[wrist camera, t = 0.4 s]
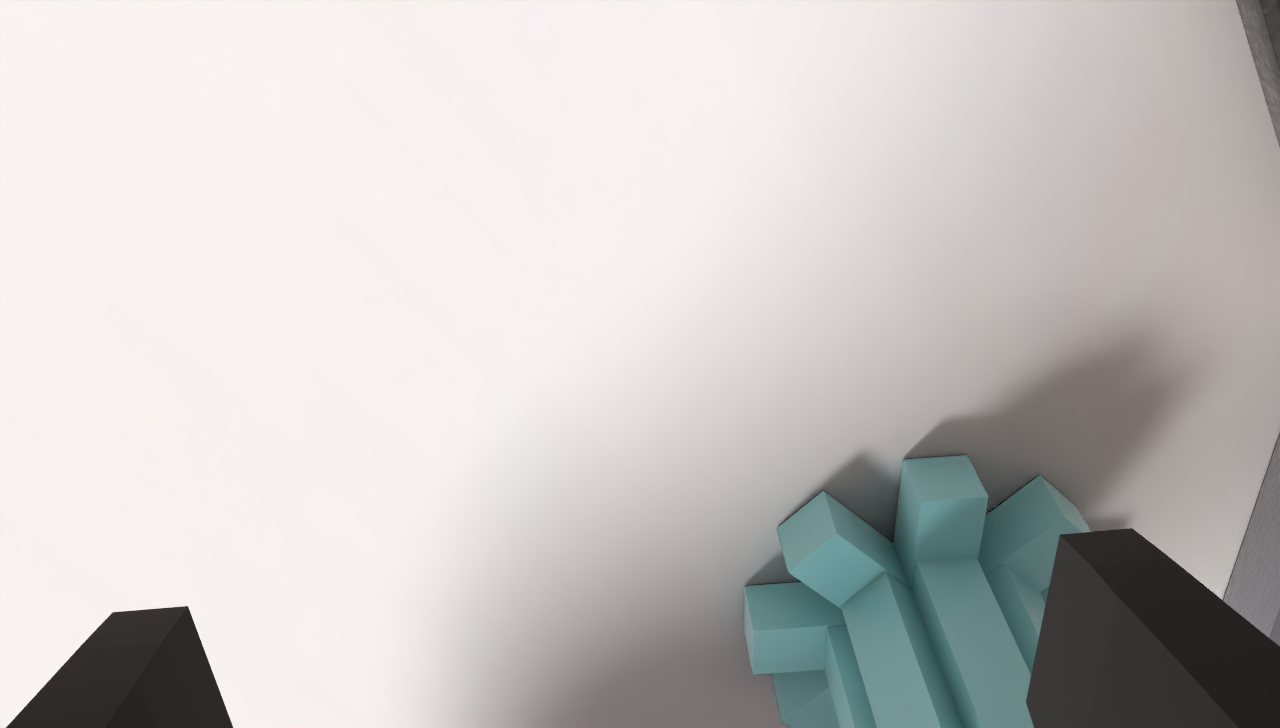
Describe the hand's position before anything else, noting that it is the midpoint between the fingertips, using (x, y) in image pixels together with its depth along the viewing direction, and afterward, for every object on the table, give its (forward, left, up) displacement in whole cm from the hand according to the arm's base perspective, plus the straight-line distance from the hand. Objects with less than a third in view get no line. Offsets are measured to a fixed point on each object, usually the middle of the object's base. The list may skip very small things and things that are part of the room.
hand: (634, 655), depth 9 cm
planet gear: (-9, -6, -9) cm, 14 cm away
